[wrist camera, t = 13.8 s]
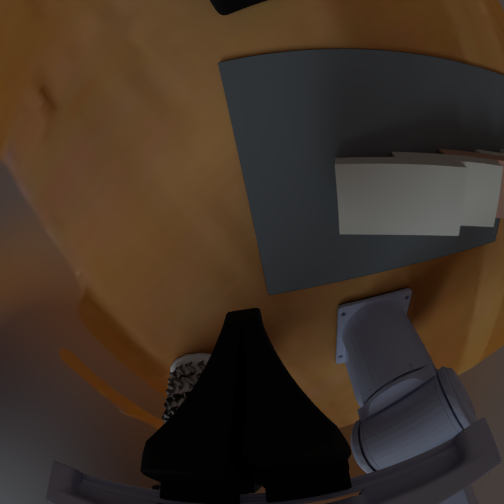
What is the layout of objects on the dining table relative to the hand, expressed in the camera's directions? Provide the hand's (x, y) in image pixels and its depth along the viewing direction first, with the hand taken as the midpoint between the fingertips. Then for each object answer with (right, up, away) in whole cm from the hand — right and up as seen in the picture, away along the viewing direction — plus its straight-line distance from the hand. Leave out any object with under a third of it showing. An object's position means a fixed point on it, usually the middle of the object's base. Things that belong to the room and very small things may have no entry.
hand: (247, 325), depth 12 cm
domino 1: (+6, +7, +6) cm, 11 cm away
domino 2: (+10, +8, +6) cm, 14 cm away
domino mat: (+13, +10, +6) cm, 17 cm away
